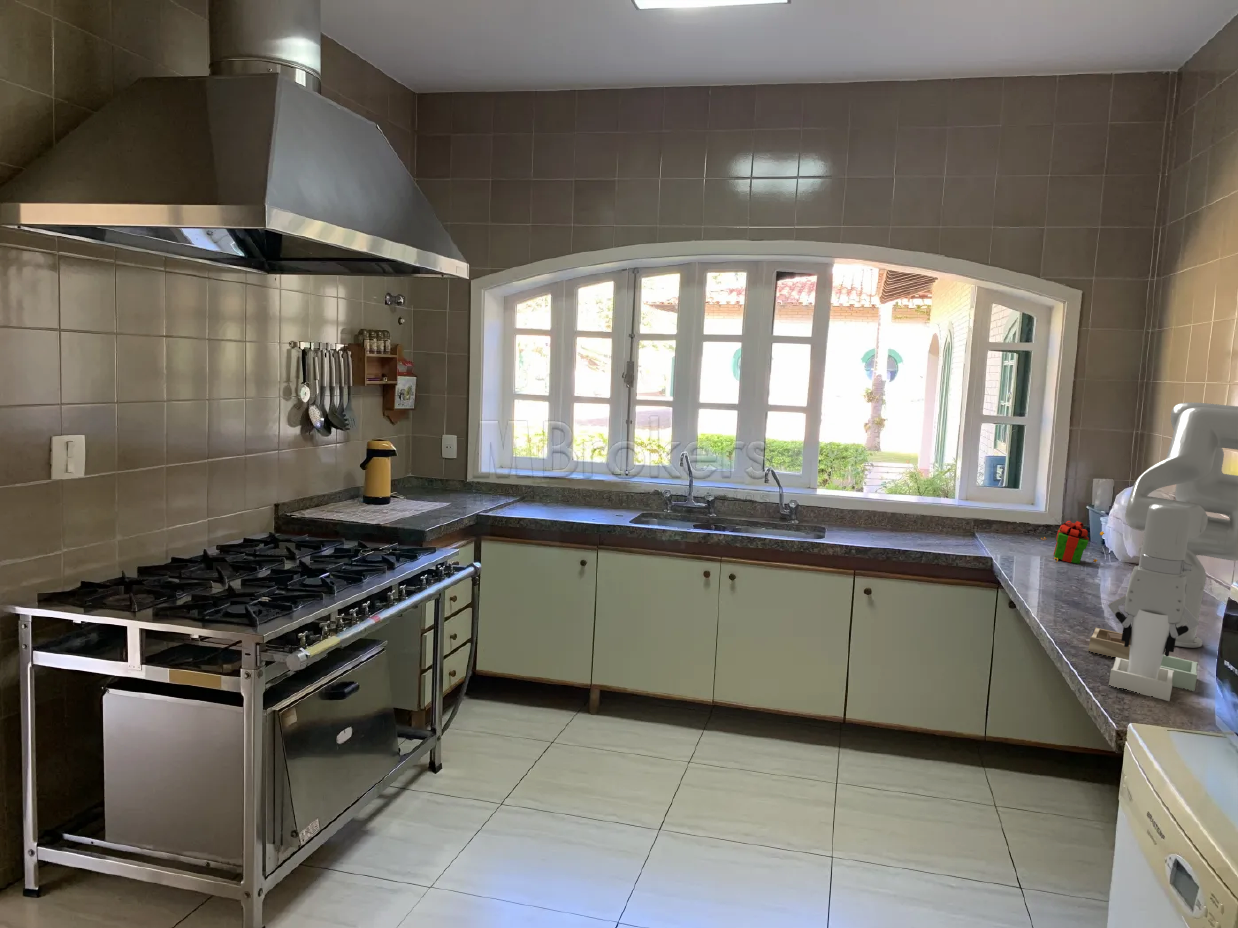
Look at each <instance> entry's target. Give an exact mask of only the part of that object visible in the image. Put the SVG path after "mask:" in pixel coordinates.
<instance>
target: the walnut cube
mask: <svg viewBox="0 0 1238 928" xmlns="http://www.w3.org/2000/svg"><path fill="white" fill-rule="evenodd" d="M1121 639H1122V635H1120V634H1114V633H1107V639H1106V640H1109V641H1113V642H1118V643H1122V644H1125V642H1124V641H1121ZM1129 645H1130V642H1129Z"/></svg>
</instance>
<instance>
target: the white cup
mask: <svg viewBox="0 0 1238 928" xmlns="http://www.w3.org/2000/svg"><path fill="white" fill-rule="evenodd" d="M1169 628H1170V624H1169V623H1168V616H1167V615H1159V614H1153V613H1149V612H1146V611H1143V610H1139V611H1138V613H1137V616H1135V617H1134V620H1133V621H1132V623H1131V638H1130V652H1129V664H1128V671H1127V672H1128V673H1132V674H1136V675H1141V676H1145V677H1149V678H1153V679H1158V673H1159V670H1160V666H1161V663H1162V659H1163V656H1164V655H1165V650H1166V644H1167V638H1168V637H1169V634H1170V631H1169Z"/></svg>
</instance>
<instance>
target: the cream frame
mask: <svg viewBox="0 0 1238 928" xmlns="http://www.w3.org/2000/svg"><path fill="white" fill-rule="evenodd" d="M1128 664H1129V660H1126V659H1122V658H1118V657H1116V658H1114V663H1113V667H1112V668H1111V669H1110V675H1109V680H1108V686H1109V685H1111V686H1114V687H1113V688H1115V687H1117V688H1116V689H1119V688H1124V689H1127V690H1131V691H1134V692H1133V693H1135V692H1137V693H1136V694H1139V693H1140V695H1142V696H1143V695H1144V696H1147V697H1151V696H1153V697H1152V698H1155V699H1159V700H1163V701H1167V702H1170V700H1171V695H1172V689H1173V686H1172V684H1173V683H1172V681H1173V675H1174V671H1173V670H1169V669H1164V668H1160V670H1159V673H1158V679H1153V678H1149V677H1145V676H1141V675H1136V674H1132V673H1128V672H1127V671H1128ZM1111 686H1110V687H1111ZM1127 690H1126V691H1127ZM1131 691H1130V692H1131Z"/></svg>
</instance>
